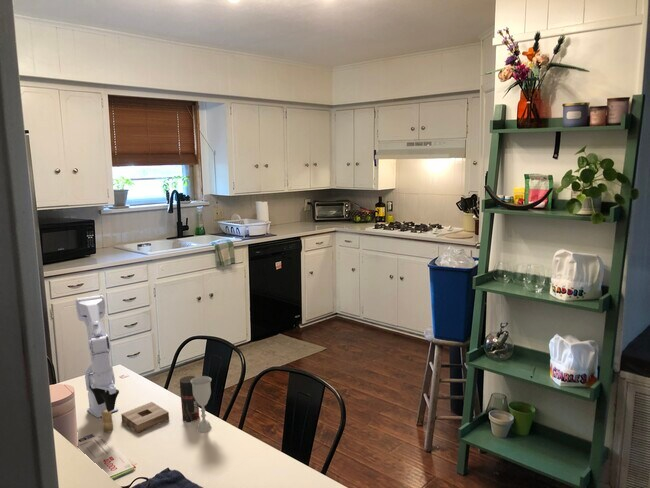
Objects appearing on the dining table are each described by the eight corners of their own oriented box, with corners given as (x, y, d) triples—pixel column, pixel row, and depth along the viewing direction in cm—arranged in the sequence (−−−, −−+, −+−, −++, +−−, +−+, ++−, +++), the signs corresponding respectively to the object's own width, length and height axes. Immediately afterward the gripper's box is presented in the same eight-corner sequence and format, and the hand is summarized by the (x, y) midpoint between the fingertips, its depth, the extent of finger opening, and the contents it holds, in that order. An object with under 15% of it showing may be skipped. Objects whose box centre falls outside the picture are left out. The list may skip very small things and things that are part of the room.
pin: (102, 430, 185) (100, 411, 183) (110, 426, 187) (108, 408, 186) (106, 433, 183) (104, 414, 181) (114, 429, 185) (112, 411, 184)
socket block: (122, 421, 190) (121, 413, 190) (152, 409, 199) (151, 401, 198) (138, 432, 182) (137, 425, 182) (169, 419, 191) (168, 411, 190)
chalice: (218, 424, 186) (215, 377, 183) (208, 434, 180) (204, 385, 177) (200, 421, 189) (197, 375, 185) (190, 431, 182) (186, 383, 179)
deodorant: (195, 422, 188) (192, 383, 186) (179, 421, 190) (176, 382, 187) (202, 414, 194) (199, 376, 191) (187, 413, 195) (184, 375, 193)
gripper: (81, 368, 183) (85, 404, 185) (99, 380, 173) (103, 418, 175) (101, 362, 188) (105, 397, 190) (120, 373, 178) (124, 410, 180)
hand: (105, 407), depth 183 cm, fingers open, 7 cm apart
